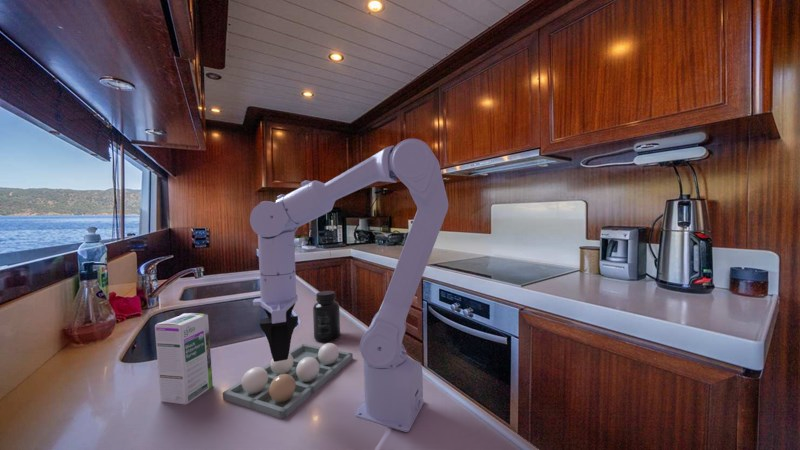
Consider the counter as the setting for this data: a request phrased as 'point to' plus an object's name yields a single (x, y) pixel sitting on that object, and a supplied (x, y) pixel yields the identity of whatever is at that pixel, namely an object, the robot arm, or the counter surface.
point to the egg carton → (302, 364)
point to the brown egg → (282, 388)
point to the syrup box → (183, 357)
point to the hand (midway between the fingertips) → (280, 349)
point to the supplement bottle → (326, 317)
